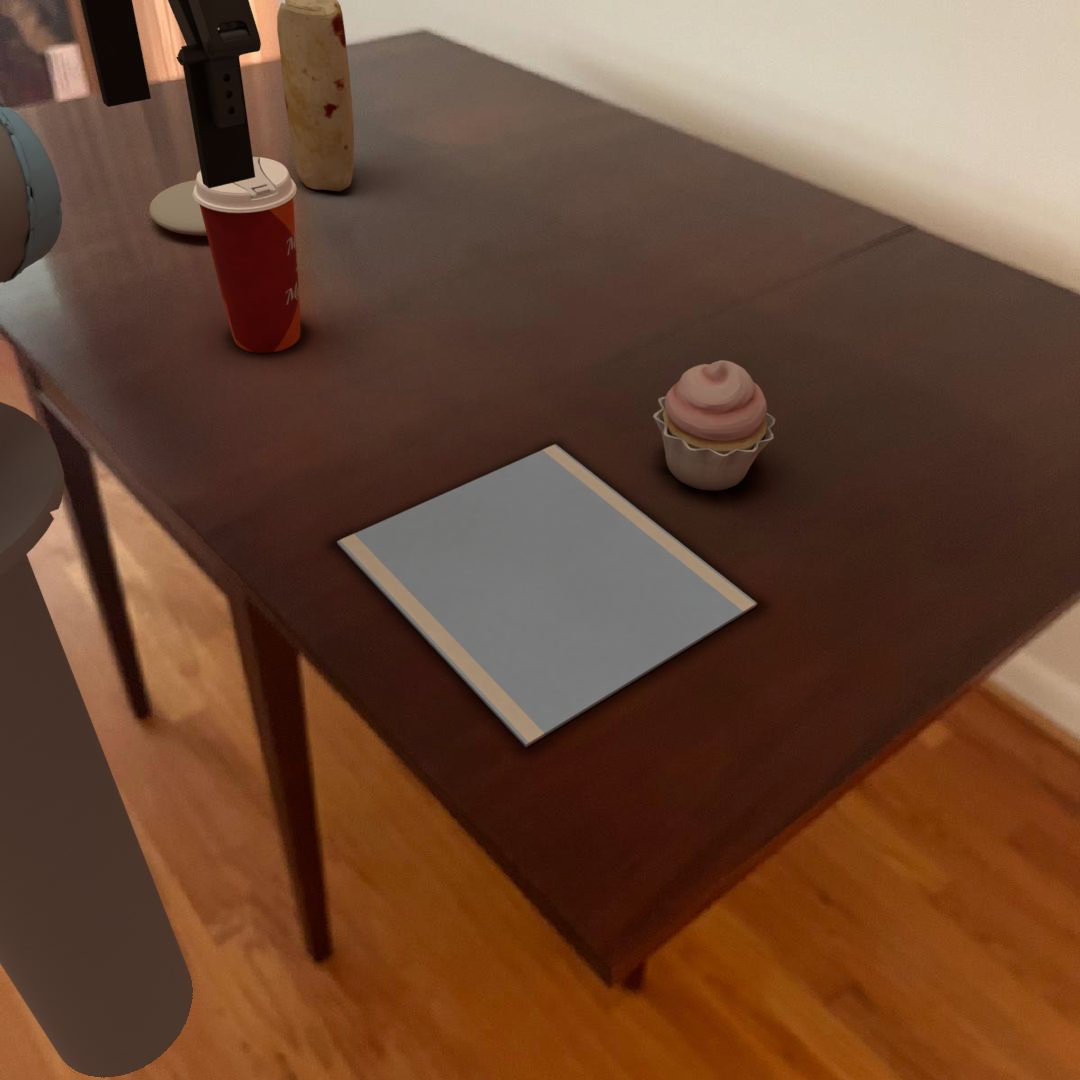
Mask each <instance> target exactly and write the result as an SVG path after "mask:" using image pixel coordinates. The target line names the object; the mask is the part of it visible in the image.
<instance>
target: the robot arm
mask: <svg viewBox="0 0 1080 1080" xmlns="http://www.w3.org/2000/svg"><path fill="white" fill-rule="evenodd" d="M79 1H80V5H81V8H82V14H83V17H84V18H83V19H84V24H85V27H86V28H85V29H86V32H87V36H88V41H89V45H90V50H91V53H92V58H93V62H94V63H93V64H94V68H95V72H96V76H97V81H98V85H99V89H100V94H101V100H102V103H103V104H104V105H105V106H106V107H108V108H111V107H115V106H121V105H125V104H131V103H135V102H141V101H146V100H150V99H152V96H151V91H150V85H149V81H148V75H147V71H146V65H145V59H144V55H143V50H142V49H143V48H142V44H141V39H140V34H139V29H138V24H137V19H136V13H135V9H134V3H133V0H79ZM167 2H168V5H169V6H170V7H169V8H170V10H171V11H172V14H173V17H174V19H175V21H176V24H177V26H178V28H179V31H180V33H181V36H182V38H183V40H184V42H185V45H182V46H181V47H180V49H179V51H178V53H177V56H176V58H175V59H176V60H177V62H178V64H179V65H181V66H182V67H183V68H182V69H183V74H184V81H185V87H186V92H187V98H188V103H189V109H190V110H189V111H190V115H191V121H192V127H193V135H194V140H195V144H196V145H195V146H196V150H197V156H198V162H199V169H200V170H201V175H202V181H203V184H204V185H205V186H207V187H208V188H214V187H218V186H222V185H226V184H230V183H234V182H238V181H242V180H246V179H251V178H255V171H254V164H253V157H254V155H253V149H252V142H251V136H250V127H249V118H248V113H247V106H246V105H247V104H246V99H245V91H244V84H243V76H242V69H241V61H240V57H241V56H243V55H247V54H252V53H257V52H260V50H261V48H262V42H261V36H260V33H259V30H258V27H257V23H256V20H255V16H254V13H253V10H252V6H251V4H250V0H167ZM62 199H63V198H62V192H61V188H60V182H59V180H58V175H57V173H56V170H55V168H54V165H53V163H52V160H51V158H50V156H49V155H48V152H47V150H46V147H44V144H43V143H42V141H41V140H40V138H39V136H38V135H37V134H36V132H35V131H34V130H33V128H32V127H31V126H30V124H29V123H28V122H27V121H26V120H25V119H24V118H23V117H22V115H20V114H19V113H18V112H17V111H15V110H14V109H13V108H12V107H9V106H4V104H3V103H2V101H0V284H1V283H2V284H3V283H8V282H10V281H12V280H14V279H15V278H17V276H19V275H21V274H22V273H23V272H24V271H25V269H27V268H28V267H30V266H32V265H33V264H35V263H36V262H38V261H40V260H42V259H43V258H44V257H45V256H46V255H48V254H49V253H50V252H51V251H52V249H53V248H54V246H55V245H56V243H57V241H58V239H59V236H60V233H61V229H62V224H63V210H62V207H61V204H62V201H63V200H62Z"/></svg>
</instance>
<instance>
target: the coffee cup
mask: <svg viewBox="0 0 1080 1080" xmlns="http://www.w3.org/2000/svg"><path fill="white" fill-rule="evenodd" d="M253 164H254V171H255V178H251V179H246V180H242V181H238V182H234V183H230V184H226V185H222V186H218V187H214V188H208V187H207V186H205V185H204V184H203V181H202V175H201V169H200V170H199V171H198V172H197V174H196V178H195V180H196V185H195V187H194V190H193V197H194V199H195V200H196V201H197V202H198V203H199V204H200V208H201V212H202V216H203V220H204V224H205V228H206V233H207V241H208V245H209V248H210V253H211V257H212V261H213V264H214V269H215V273H216V277H217V281H218V286H219V289H220V294H221V297H222V302H223V305H224V310H225V313H226V317H227V322H228V325H229V328H230V333H231V336H232V338H233V342H234V343H235V344H236V345H237V346H238V348H240V349H242V350H244V351H247V352H250V353H257V354H269V353H276V352H280V351H283V350H286V349H288V348H291V347H292V346H294V345H295V344H297V342H298V341H299V339H300V337H301V308H300V307H301V304H300V289H299V288H300V287H299V273H298V272H299V271H298V270H299V269H298V255H297V240H296V239H297V238H296V223H295V208H294V205H295V204H294V197H295V196H296V193H297V189H298V188H297V185H296V182H295V181H294V180H293V179H292V178H291V175H290V173H289V172H290V171H289V170H288V168H287V167H286V166H285V165H284V164H283V163H281V162H279V161H277V160H275V159H271V158H267V157H261V156H260V157H259V156H253Z"/></svg>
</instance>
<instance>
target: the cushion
mask: <svg viewBox="0 0 1080 1080" xmlns="http://www.w3.org/2000/svg"><path fill="white" fill-rule="evenodd" d="M195 185H196V179H193V180H188V181H184V182H180V183H177V184H175V185H172V186H170V187H168V188H166V189H164V190H162V191H161V192H159V193H158V194H157V195H156V196H155V197H153V199H152V201H151V202H150V204H149V208H148V209H149V210H148V212H149V216H150V218H151V219H152V220H153V221H154V223H156V224H157V225H159V226H160V227H162V228H164V229H166V230H168V231H170V232H173V233H177V234H182V235H187V236H188V235H189V236H199V237H204V236H205V237H206V236H207V233H206V228H205V224H204V220H203V216H202V212H201V208H200V204H199V203H198V202H197V201H196V200H195V199H194V197H193V190H194V187H195Z"/></svg>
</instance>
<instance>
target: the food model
mask: <svg viewBox="0 0 1080 1080" xmlns="http://www.w3.org/2000/svg"><path fill="white" fill-rule="evenodd" d="M276 32H277V39H278V47H279V55H280V66H281V75H282V85H283V87H282V88H283V93H284V103H285V109H286V115H287V121H288V131H289V137H290V144H291V149H292V156H293V160H294V166H295V169H296V172H297V175H298V177H299V180H300V181H301V182H302V183H303V184H304V185H305V186H306V187H307V188H309V189H312V190H321V191H322V190H323V191H324V190H325V191H332V192H341V191H344V190H345V189H347V188H349V187H350V186H351V184H352V181H353V173H354V157H355V156H354V155H355V154H354V153H355V132H354V131H355V130H354V129H355V128H354V111H353V101H352V100H353V99H352V98H353V97H352V88H351V77H350V76H351V75H350V66H349V55H348V47H347V39H346V30H345V23H344V15H343V11H342V7H341V4H340V2H339V1H338V0H284V2H280V5H279V8H278V11H277V15H276Z"/></svg>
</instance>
